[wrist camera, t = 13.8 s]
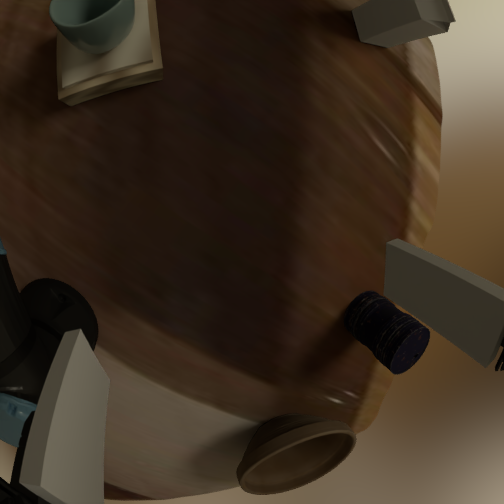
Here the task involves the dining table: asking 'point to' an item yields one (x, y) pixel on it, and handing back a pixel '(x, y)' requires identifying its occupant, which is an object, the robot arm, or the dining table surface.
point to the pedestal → (111, 61)
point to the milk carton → (401, 20)
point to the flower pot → (293, 453)
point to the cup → (93, 22)
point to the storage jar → (386, 331)
